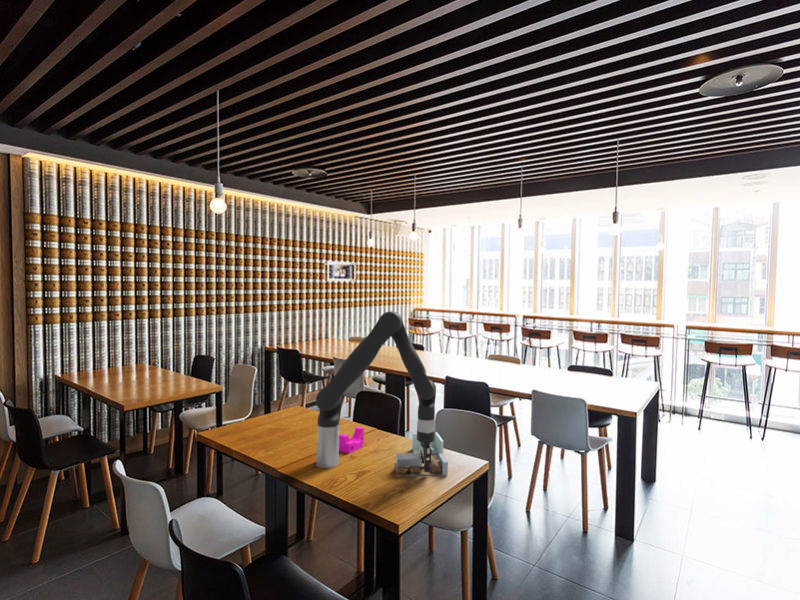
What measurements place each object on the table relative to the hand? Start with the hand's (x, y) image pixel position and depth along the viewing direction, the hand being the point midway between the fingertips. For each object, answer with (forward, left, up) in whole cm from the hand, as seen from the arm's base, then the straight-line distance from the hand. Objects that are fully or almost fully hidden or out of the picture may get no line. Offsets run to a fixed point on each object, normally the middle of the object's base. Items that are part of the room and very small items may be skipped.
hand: (425, 467), depth 180 cm
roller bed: (-3, 0, -2) cm, 4 cm away
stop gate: (+8, 0, -2) cm, 8 cm away
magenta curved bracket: (-30, +30, -3) cm, 42 cm away
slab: (-7, 0, +2) cm, 7 cm away
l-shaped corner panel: (+5, +21, -3) cm, 22 cm away
